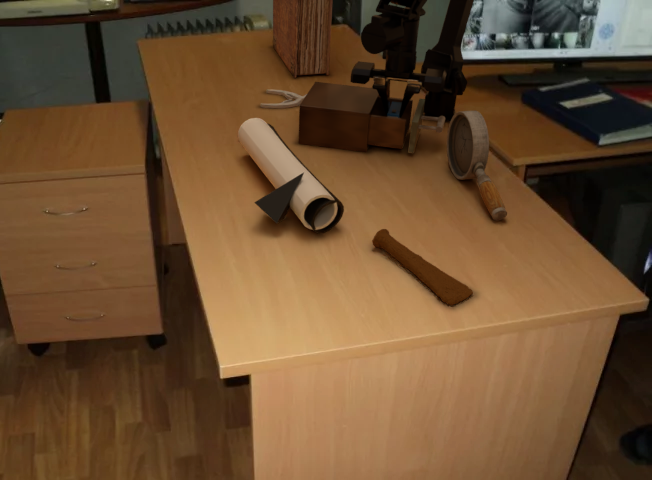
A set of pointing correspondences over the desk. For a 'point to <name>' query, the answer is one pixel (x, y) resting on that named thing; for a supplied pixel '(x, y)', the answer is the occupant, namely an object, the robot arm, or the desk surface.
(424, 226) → the desk surface
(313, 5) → the book
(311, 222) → the diploma
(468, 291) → the primitive tool
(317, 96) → the cabinet
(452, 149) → the magnifying glass
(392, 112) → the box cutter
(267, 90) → the pliers
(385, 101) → the robot arm
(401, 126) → the drawer
